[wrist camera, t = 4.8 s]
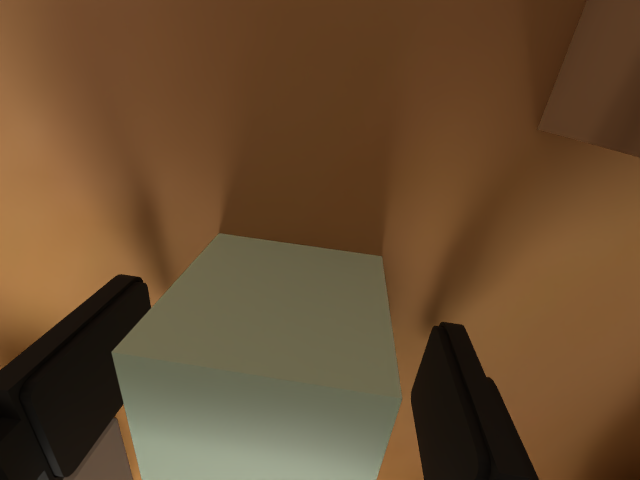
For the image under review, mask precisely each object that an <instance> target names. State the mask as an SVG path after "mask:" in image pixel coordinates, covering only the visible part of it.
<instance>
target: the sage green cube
mask: <svg viewBox="0 0 640 480" xmlns="http://www.w3.org/2000/svg"><path fill="white" fill-rule="evenodd" d="M111 353H112V357H113V361H114V365H115V369H116V374H117V378H118V382H119V386H120V390H121V394H122V399H123V403H124V407H125V411H126V415H127V420H128V424H129V428H130V432H131V436H132V441H133V445H134V449H135V453H136V457H137V462H138V466H139V470H140V474H141V478H142V480H376V479H377V476H378V473H379V470H380V467H381V463H382V460H383V457H384V454H385V451H386V448H387V445H388V442H389V438H390V435H391V432H392V429H393V426H394V423H395V420H396V417H397V413H398V410H399V407H400V404H401V401H402V393H401V386H400V379H399V372H398V365H397V358H396V351H395V344H394V337H393V330H392V323H391V316H390V309H389V302H388V295H387V288H386V281H385V274H384V267H383V260H382V256H377V255H370V254H363V253H355V252H348V251H341V250H334V249H327V248H320V247H313V246H306V245H299V244H292V243H285V242H278V241H271V240H264V239H257V238H249V237H242V236H235V235H228V234H221V233H219V234H218V235H217V236H216V237H215V238H214V239H213V240H212V241H211V242H210V244H209V245H208V246H207V247H206V248H205V249H204V250H203V251H202V252H201V254H200V255H199V256H198V257H197V258H196V259H195V260H194V261H193V262H192V263H191V265H190V266H189V267H188V268H187V269H186V270H185V271H184V272H183V273H182V275H181V276H180V277H179V278H178V279H177V280H176V281H175V282H174V283H173V285H172V286H171V287H170V288H169V289H168V290H167V291H166V292H165V293H164V294H163V296H162V297H161V298H160V299H159V300H158V301H157V302H156V303H155V304H154V306H153V307H152V308H151V309H150V310H149V311H148V312H147V313H146V314H145V315H144V317H143V318H142V319H141V320H140V321H139V322H138V323H137V324H136V325H135V327H134V328H133V329H132V330H131V331H130V332H129V333H128V334H127V335H126V337H125V338H124V339H123V340H122V341H121V342H120V343H119V344H118V345H117V346H116V348H115V349H114V350H113V351H112V352H111Z"/></svg>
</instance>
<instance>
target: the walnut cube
mask: <svg viewBox="0 0 640 480" xmlns="http://www.w3.org/2000/svg"><path fill="white" fill-rule="evenodd" d="M537 129H538V130H541V131H545V132H549V133H552V134H556V135H560V136H563V137H567V138H571V139H574V140H578V141H582V142H586V143H589V144H593V145H597V146H600V147H604V148H608V149H611V150H615V151H619V152H623V153H626V154H630V155H634V156H637V157H640V0H587V1H586V4H585V6H584V9H583V11H582V14H581V17H580V19H579V22H578V24H577V27H576V30H575V32H574V35H573V37H572V40H571V43H570V45H569V48H568V50H567V53H566V56H565V58H564V61H563V63H562V66H561V69H560V71H559V74H558V76H557V79H556V81H555V84H554V87H553V89H552V92H551V94H550V97H549V100H548V102H547V105H546V107H545V110H544V113H543V115H542V118H541V120H540V123H539V126H538V128H537Z"/></svg>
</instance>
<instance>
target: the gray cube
mask: <svg viewBox="0 0 640 480" xmlns="http://www.w3.org/2000/svg"><path fill="white" fill-rule="evenodd" d="M63 480H133V478H132V474H131V470H130V466H129V462H128V459H127V455H126V451H125V447H124V443H123V439H122V436H121V432H120V428H119V424H118V420H117V419H116V418H113V419H112V420H111V422H110V423H109V425H108V426H107V427H106V429H105V430H104V432H103V433H102V434H101V436H100V437H99V439H98V440H97V441H96V443H95V444H94V445H93V447H92V448H91V450H90V451H89V452H88V454H87V455H86V457H85V458H84V459H83V461H82V462H81V464H80V465H79V466H78V468H77V469H76V470H75V471H74V473H73V474H71V475H70V476H69V477H64V479H63Z"/></svg>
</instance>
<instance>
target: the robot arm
mask: <svg viewBox="0 0 640 480" xmlns="http://www.w3.org/2000/svg"><path fill="white" fill-rule="evenodd" d="M150 309H151V305H150V299H149V292H148V287H147V284H146V283H143V280H142V279H141V278H140V277H136V276H129V275H122V274H120V275H117V276H115V277H114V278H113V279H112V280H110V281H109V282H108V283H107V284H106V285H104V286H103V287H102V288H101V289H99V290H98V291H97V292H96V293H95V294H93V295H92V296H91V297H90V298H88V299H87V300H86V301H85V302H83V303H82V304H81V305H80V306H79V307H77V308H76V309H75V310H74V311H72V312H71V313H70V314H69V315H68V316H66V317H65V318H64V319H63V320H61V321H60V322H59V323H58V324H56V325H55V326H54V327H53V328H52V329H50V330H49V331H48V332H47V333H45V334H44V335H43V336H42V337H41V338H39V339H38V340H37V341H36V342H34V343H33V344H32V345H31V346H30V347H28V348H27V349H26V350H25V351H23V352H22V353H21V354H20V355H18V356H17V357H16V358H15V359H14V360H12V361H11V362H10V363H9V364H7V365H6V366H5V367H4V368H3V369H1V370H0V480H63V479H64V477H69V476H70V475H71V474H73V473H74V471H75V470H76V469H77V468H78V466H79V465H80V464H81V462H82V461H83V459H84V458H85V457H86V455H87V454H88V452H89V451H90V450H91V448H92V447H93V445H94V444H95V443H96V441H97V440H98V439H99V437H100V436H101V434H102V433H103V432H104V430H105V429H106V427H107V426H108V425H109V423H110V422H111V420H112V419H113V418H114V416H115V415H116V413H117V412H118V411H119V409H120V408H121V407H122V405H123V404H124V403H123V399H122V394H121V390H120V386H119V382H118V378H117V374H116V369H115V365H114V361H113V357H112V353H111V352H112V351H113V350H114V349H115V348H116V346H117V345H118V344H119V343H120V342H121V341H122V340H123V339H124V338H125V337H126V335H127V334H128V333H129V332H130V331H131V330H132V329H133V328H134V327H135V325H136V324H137V323H138V322H139V321H140V320H141V319H142V318H143V317H144V315H145V314H146V313H147V312H148V311H149V310H150ZM411 404H412V410H413V416H414V422H415V428H416V433H417V439H418V445H419V451H420V457H421V463H422V469H423V475H424V480H539V478H538V476H537V474H536V472H535V470H534V468H533V465H532V463H531V461H530V459H529V457H528V454H527V452H526V450H525V448H524V446H523V443H522V441H521V439H520V437H519V435H518V432H517V430H516V428H515V426H514V424H513V421H512V419H511V417H510V415H509V413H508V410H507V408H506V406H505V404H504V402H503V399H502V397H501V395H500V393H499V391H498V388H497V386H496V385H495V383H494V381H493V380H492V379H491V378H490V377H486V375H485V373H484V371H483V368H482V366H481V364H480V362H479V359H478V357H477V355H476V352H475V350H474V348H473V345H472V343H471V341H470V339H469V336H468V334H467V332H466V329H465V328H464V326H463V325H460V324H453V323H447V322H441V323H440V325H439V326H434V327H433V328H432V331H431V334H430V337H429V340H428V343H427V346H426V349H425V352H424V355H423V358H422V361H421V364H420V367H419V370H418V373H417V376H416V379H415V382H414V385H413V388H412V392H411Z"/></svg>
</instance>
